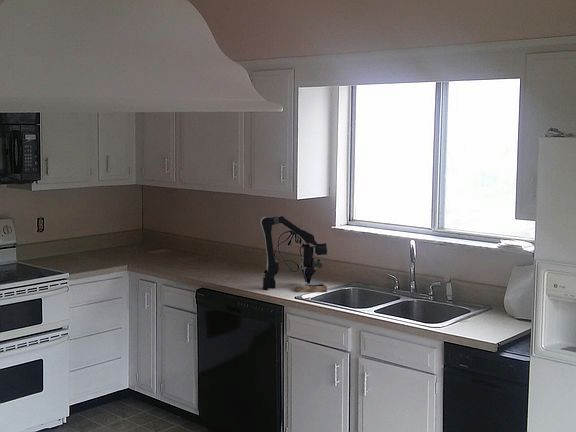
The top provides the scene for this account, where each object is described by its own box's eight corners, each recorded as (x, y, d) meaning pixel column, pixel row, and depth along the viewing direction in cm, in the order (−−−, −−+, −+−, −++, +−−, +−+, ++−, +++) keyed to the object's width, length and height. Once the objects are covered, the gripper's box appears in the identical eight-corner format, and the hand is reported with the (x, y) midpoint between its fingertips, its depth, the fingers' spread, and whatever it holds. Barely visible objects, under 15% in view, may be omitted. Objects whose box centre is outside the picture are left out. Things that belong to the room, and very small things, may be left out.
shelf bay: (297, 292, 400) (298, 286, 399) (295, 288, 411) (295, 283, 411) (326, 292, 401) (326, 286, 401) (323, 288, 413) (323, 283, 413)
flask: (307, 285, 404) (304, 283, 415) (307, 290, 404) (304, 288, 415) (324, 283, 405) (320, 281, 416) (324, 289, 405) (321, 287, 416)
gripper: (325, 257, 408) (324, 286, 410) (319, 253, 427) (319, 280, 428) (305, 257, 407) (304, 286, 408) (300, 253, 425) (299, 280, 427)
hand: (307, 283), depth 418 cm, fingers open, 7 cm apart
